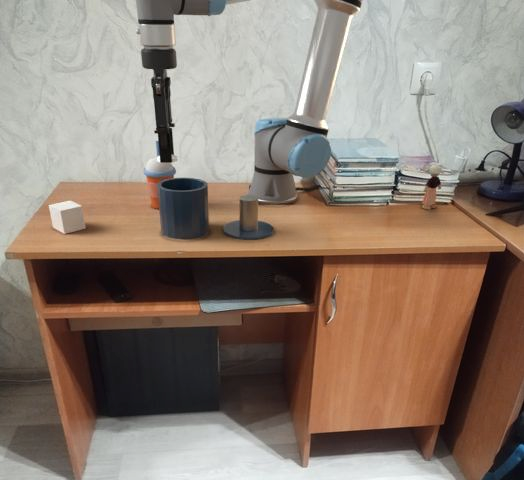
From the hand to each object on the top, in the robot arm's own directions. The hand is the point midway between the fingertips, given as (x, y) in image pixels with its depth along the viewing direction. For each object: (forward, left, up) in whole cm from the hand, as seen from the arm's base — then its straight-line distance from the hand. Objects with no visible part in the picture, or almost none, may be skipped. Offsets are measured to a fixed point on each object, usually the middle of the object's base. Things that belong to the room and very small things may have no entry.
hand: (167, 159), depth 125 cm
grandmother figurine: (-72, +29, -19) cm, 80 cm away
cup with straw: (-9, -20, -19) cm, 29 cm away
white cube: (+20, -19, -19) cm, 33 cm away
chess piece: (0, 0, 0) cm, 0 cm away
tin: (-2, +2, -18) cm, 19 cm away
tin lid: (-15, +12, -18) cm, 27 cm away
